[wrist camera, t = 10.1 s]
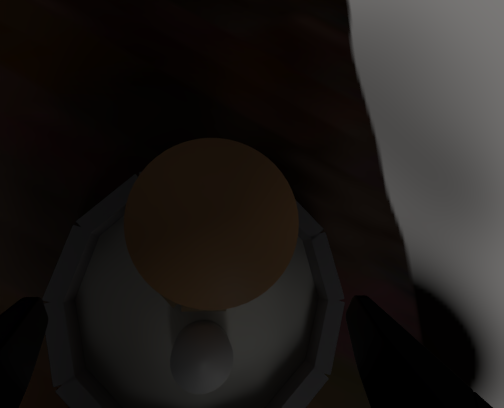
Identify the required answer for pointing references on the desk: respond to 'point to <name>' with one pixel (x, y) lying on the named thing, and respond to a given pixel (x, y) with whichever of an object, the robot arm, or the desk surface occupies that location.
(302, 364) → the carrier plate
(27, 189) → the desk surface
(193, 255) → the brown waisted peg
